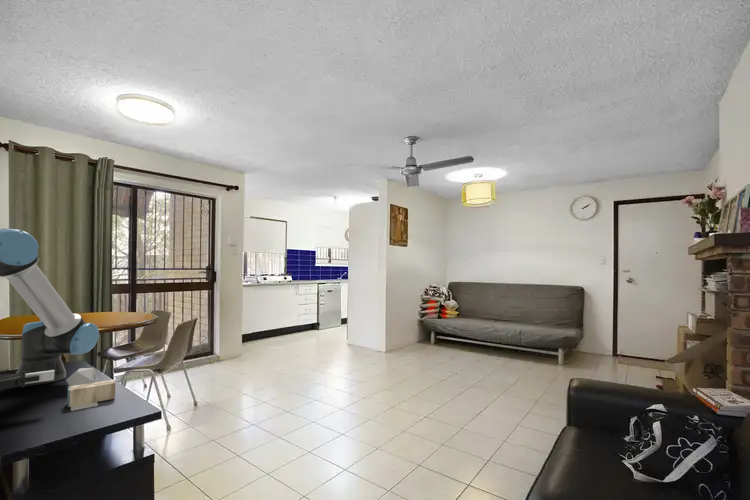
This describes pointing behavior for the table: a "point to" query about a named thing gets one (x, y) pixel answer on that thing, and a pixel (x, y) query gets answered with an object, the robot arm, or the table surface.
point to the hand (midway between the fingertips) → (54, 374)
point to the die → (83, 377)
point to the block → (90, 393)
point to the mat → (84, 406)
